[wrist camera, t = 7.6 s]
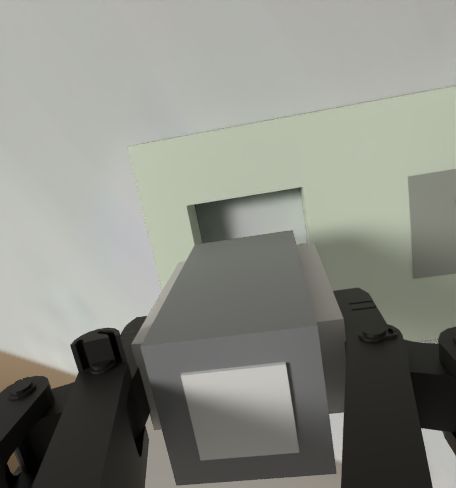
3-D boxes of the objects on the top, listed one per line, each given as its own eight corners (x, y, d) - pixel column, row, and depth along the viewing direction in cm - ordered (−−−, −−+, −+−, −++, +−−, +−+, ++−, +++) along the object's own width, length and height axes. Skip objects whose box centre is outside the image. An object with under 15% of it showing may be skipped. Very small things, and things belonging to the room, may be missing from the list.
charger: (194, 244, 17) (138, 349, 9) (292, 230, 17) (318, 327, 9) (212, 331, 18) (175, 488, 11) (304, 320, 18) (336, 476, 10)
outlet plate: (139, 144, 22) (125, 147, 20) (560, 66, 19) (596, 60, 17) (186, 348, 25) (179, 369, 23) (550, 305, 22) (580, 325, 20)
